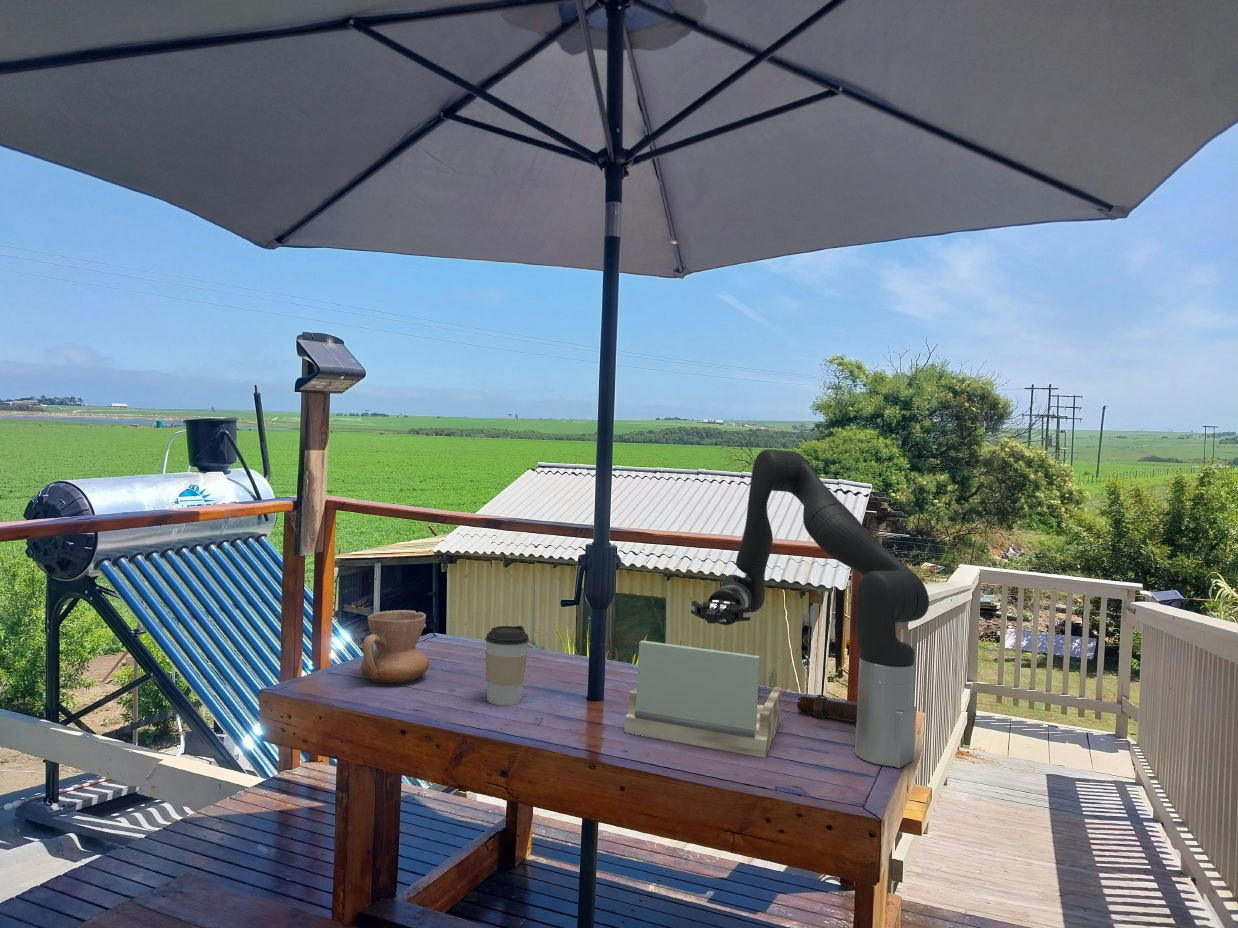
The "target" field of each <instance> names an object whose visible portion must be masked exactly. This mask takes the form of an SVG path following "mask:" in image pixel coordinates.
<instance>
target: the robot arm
mask: <svg viewBox="0 0 1238 928" xmlns="http://www.w3.org/2000/svg"><path fill="white" fill-rule="evenodd" d="M773 491H774V492H783V493H784V492H785V493H786V492H787V493H790V494H792V495H793V496H795V498H797V499H798V500H799V502H800V503H801V504H802V506H803V512H802V513H803V514H802V515H803V517H802V519H803V526H804V529H805V530H806V531H807V533H808V535H809V536H810V537H811V538H812V540H813V541H814V542H815V543H816V544H817V546H818V547H819V548H820V549H821V550H822V551H823V552H824V553H826V554H827V555H828V556H830V557H831V558H833V559H834V560H836V561H838V562H840V563H841V564H843V565H844V566H846V567H848V568H851V569H852V570H854V571H856V572H858V573H859V574H861V575H862V577H861V578H860V581H859V583H858V586H857V591H856V602H855V603H856V605H855V606H856V609H855V610H856V618H855V619H856V627H855V628H856V640H857V643H858V647H859V659H858V660H859V662H858V677H857V678H858V679H857V682H858V683H857V696H856V697H857V700H856V701H857V702H856V703H857V704H856V705H857V717H856V721H855V737H854V738H855V739H854V754H855V755H856V756H857V757H858V758H860V759H862V760H864V761H865V762H869V763H872V764H876V765H880V766H887V767H892V768H893V767H895V768H897V769H901V768H902V767H904V766H906V765H908V764H910V763H911V762H913V761H915V743H916V724H917V722H916V721H917V707H916V706H915V705H913V691H914V690H913V689H914V675H915V674H914V673H915V672H914V670H915V668H914V667H915V650H914V648H913V646H912V645H910V644H908V643H906V642H903V641H900V639H898V637H897V632H896V630H897V629H896V624H897V623H910V622H916V621H918V620H921V618H923V617H924V616H925V615H926V614H927V612H928V610H929V605H930V598H929V593H928V589H927V588H926V586H925V584H924V583H923V581H922V580H921V578H920V577H919V575H917V574H916V573H915V572H914V571H913V570H912V569H910V568H909V567H908V566H907V565H905V563H903V562H902V561H901V560H899V559H898V558H897V557H896V556H894V555H893V553H891V552H890V551H888V550H887V549H886V548H885V547H884V546H883V545H882V544H881V542H879V541H878V540H877V538H876V537H875V536H873V534H872V533H870V531H869V530H867V528H865V526H864V525H863V524H862V523H861V522H860V521H859V520H858V518H857V517H856V515H854V514H853V513H852V512H851V511H850V510H849V509H848V508H847V507H846V506H845V504H843V503H842V502H841V501H840V500H839V499H838V498H837V497H836V496H835V495H834V493H833V492H832V491H831V490H830V489H829V488H828V487H827V486H826V484H824V483H823V481H822V480H821V478H820V477H819V476H818V474H817V473H816V472H815V470H814V469H813V467H812V466H811V465H810V463H809V462H808V461H807V459H806V458H805V457H804V456H803V455H802V454H800V453H799V452H795V451H791V450H783V449H782V450H781V449H772V448H771V449H770V448H769V449H763V450H761V451H760V452H759V453H758V454H757V456H756V457H755V460H754V463H753V467H752V469H751V477H750V485H749V491H748V492H749V493H748V502H747V511H746V520H745V526H744V531H743V535H742V539H741V541H740V546H739V549H738V552H737V556H736V560H735V566H736V567H737V569H738V570H739V571H740V572H742V573H743V574H745V575H747V577H749V578H750V579H749V578H746V577H743V576H740V575H737V574H729V575H727V576H725V577H724V579H723V580H722V582H721V585H720V588H718V589H717V590H715V591H714V592H713V593H712V594H710V596H709V598H708V599H707V601H704V602H699V601H696V600H692V601H691V603H690V604H691V605H690V606H691V607H690V614H692V615H694V616H695V617H697V618H700V619H702V620H704V621H706V624H712V625H715V624H719V625H722V626H729V625H733V624H735V623H737V622H749V621H751V613H755V612H758V611H759V610H760V609H761V608H762V607H763V604H764V603H765V598H766V597H765V596H766V591H765V589H766V588H765V587H766V585H765V579H766V578H765V576H766V570H767V564H768V561H769V558H770V556H771V551H772V547H773V543H774V542H773V537H774V536H773V531H772V526H771V524H770V523H771V522H770V519H769V516H768V515H769V514H768V501H769V499H770V497H771V496H770V495H771V493H772V492H773Z"/></svg>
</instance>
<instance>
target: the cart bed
mask: <svg viewBox="0 0 1238 928" xmlns="http://www.w3.org/2000/svg"><path fill="white" fill-rule="evenodd" d="M782 690H783V689H782V687H776V686H774V687H773V688H772V690H771V692H770V694H769V695H768V698H767V700H766V702H765V703H764V705H761V704H757V721H756V736H755V738H751V737H745V736H740V735H734V734H728V733H722V732H716V731H710V730H704V729H699V728H693V727H687V726H681V725H675V724H669V723H663V722H657V721H652V720H646V719H640V718H635V716H634V715H635V711H636V695H637V686H635V687H634V688H633V689H632V690H630V691H629V695H628V697H629V698H628V699H629V700H628V713H627V714H626V715H625V716H624V726H623V727H624V728H623V729H624V730H623V732H626V733H625V734H629V733H631V735H634V734H635V736H640V735H641V737H645V738H646V737H647V738H651V739H658V740H662V741H669V742H674V743H679V744H680V743H681V744H685V745H691V746H696V747H702V748H703V747H704V748H709V749H715V750H719V751H726V752H730V753H736V754H742V755H747V756H752V757H759V758H764V759H765V758H766V757H767V754H768V752H769V750H770V747H771V744H772V743H773V740H774V738H775V736H776V733H777V730H778V729H779V726H780V724H781V707H782Z"/></svg>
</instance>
